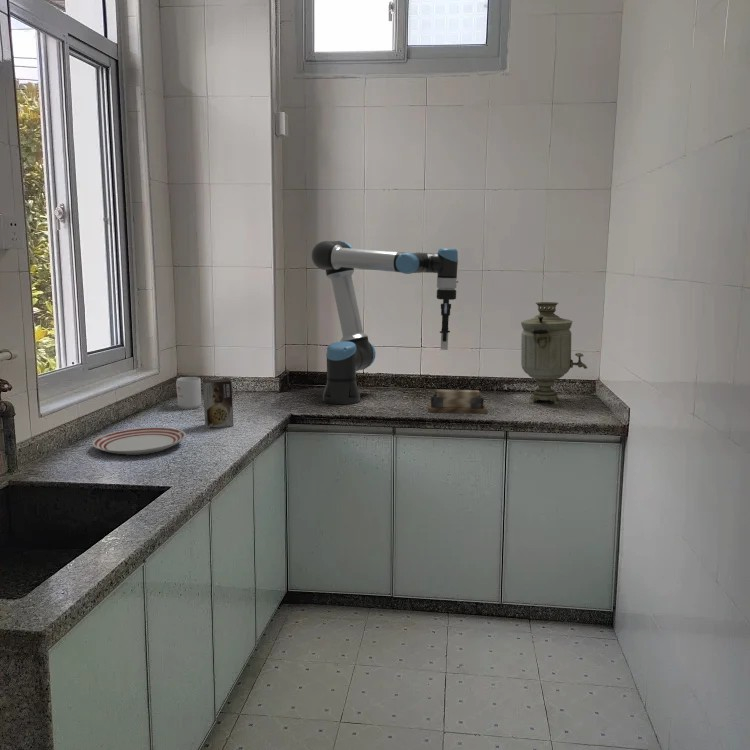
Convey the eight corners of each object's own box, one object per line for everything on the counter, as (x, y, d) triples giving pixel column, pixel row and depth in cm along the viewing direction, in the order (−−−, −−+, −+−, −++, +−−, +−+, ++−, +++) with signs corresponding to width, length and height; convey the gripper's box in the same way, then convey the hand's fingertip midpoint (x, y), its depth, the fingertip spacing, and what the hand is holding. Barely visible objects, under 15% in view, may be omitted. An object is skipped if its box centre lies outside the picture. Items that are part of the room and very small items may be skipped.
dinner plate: (88, 463, 205) (88, 452, 204) (96, 439, 231) (96, 429, 230) (187, 456, 212) (187, 445, 212) (184, 433, 238) (184, 423, 238)
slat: (436, 406, 273) (436, 391, 272) (436, 404, 276) (436, 389, 275) (478, 407, 272) (479, 392, 271) (478, 405, 275) (478, 390, 274)
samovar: (566, 413, 269) (572, 307, 263) (503, 404, 285) (507, 303, 278) (595, 400, 293) (601, 302, 286) (535, 392, 308) (539, 299, 302)
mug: (206, 407, 277) (205, 378, 275) (186, 410, 271) (185, 381, 269) (187, 402, 285) (186, 375, 283) (168, 406, 278) (167, 378, 276)
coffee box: (230, 422, 253) (229, 377, 250) (233, 426, 247) (232, 380, 245) (204, 424, 250) (202, 378, 247) (206, 428, 244) (205, 382, 241)
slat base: (427, 412, 270) (428, 397, 269) (428, 406, 280) (428, 392, 279) (486, 413, 269) (487, 399, 268) (484, 407, 278) (485, 393, 277)
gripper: (456, 290, 270) (453, 352, 274) (456, 288, 282) (453, 347, 287) (436, 289, 271) (433, 351, 275) (437, 287, 283) (435, 346, 288)
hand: (444, 349), depth 281 cm, fingers closed
